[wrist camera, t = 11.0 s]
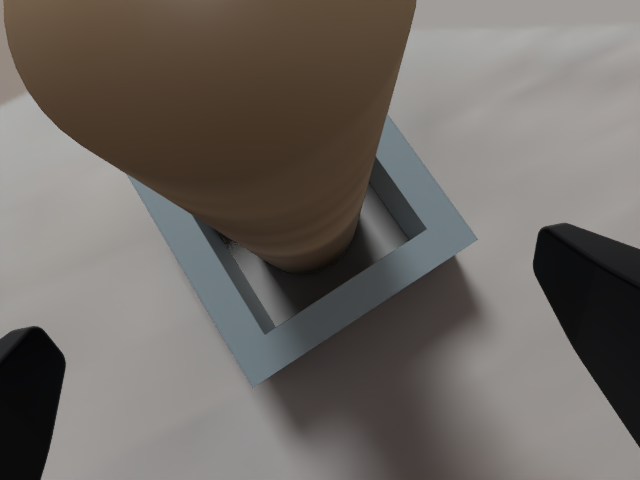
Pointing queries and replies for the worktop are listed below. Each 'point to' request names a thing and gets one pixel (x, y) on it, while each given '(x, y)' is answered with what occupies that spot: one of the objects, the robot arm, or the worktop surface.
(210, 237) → the socket block
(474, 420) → the worktop surface
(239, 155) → the walnut plug
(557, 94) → the worktop surface
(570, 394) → the worktop surface
